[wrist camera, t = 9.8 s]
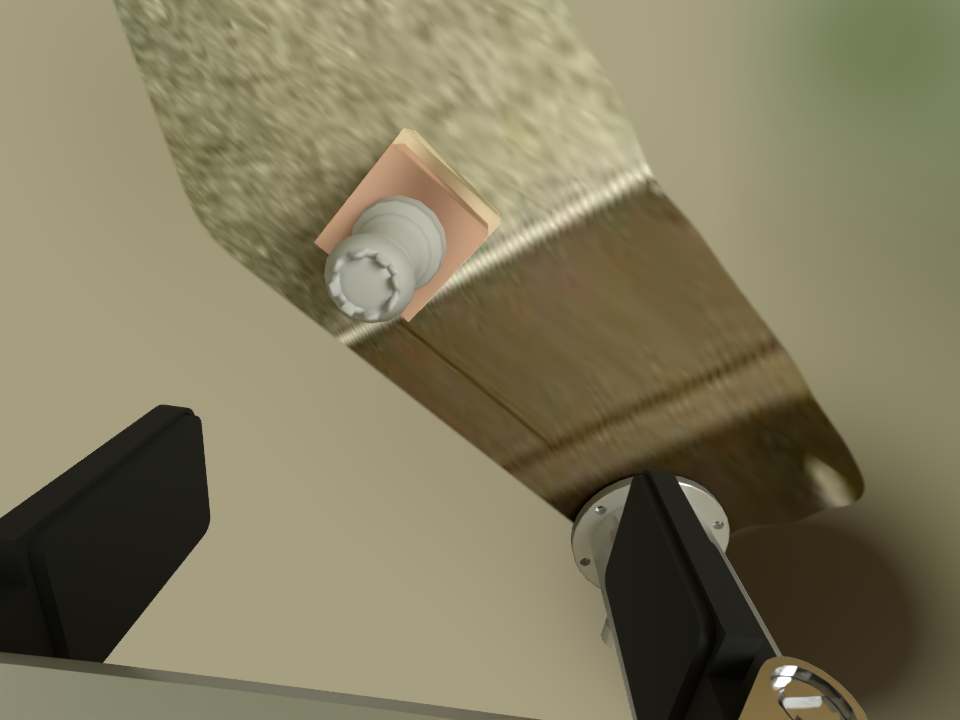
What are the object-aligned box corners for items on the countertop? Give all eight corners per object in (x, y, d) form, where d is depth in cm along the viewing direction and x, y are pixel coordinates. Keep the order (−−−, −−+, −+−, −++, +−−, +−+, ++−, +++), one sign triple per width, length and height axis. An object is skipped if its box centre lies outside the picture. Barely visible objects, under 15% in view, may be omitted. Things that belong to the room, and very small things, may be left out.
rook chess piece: (356, 283, 25) (302, 342, 18) (354, 190, 23) (292, 214, 16) (445, 290, 25) (426, 352, 18) (450, 198, 23) (431, 225, 16)
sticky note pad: (499, 213, 31) (502, 236, 24) (427, 291, 33) (409, 334, 26) (414, 129, 29) (389, 127, 22) (343, 218, 32) (299, 242, 24)
